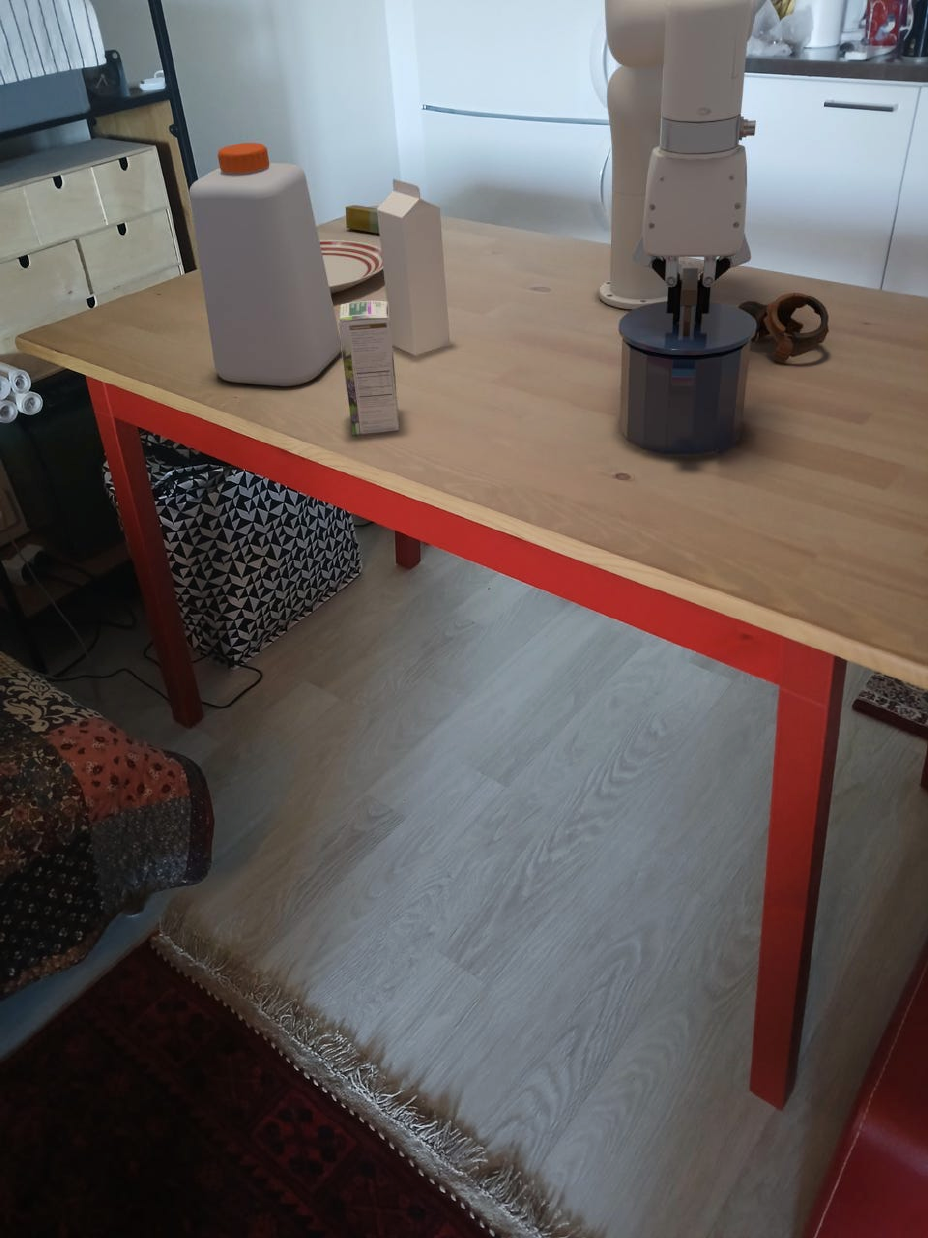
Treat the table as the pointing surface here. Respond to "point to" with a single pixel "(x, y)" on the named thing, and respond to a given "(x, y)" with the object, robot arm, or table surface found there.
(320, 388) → the table surface
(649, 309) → the lid
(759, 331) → the rusty metal shackles
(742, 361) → the crock
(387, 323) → the syrup box
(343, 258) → the dinner plate
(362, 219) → the medication box
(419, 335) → the milk
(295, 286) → the plastic bottle
